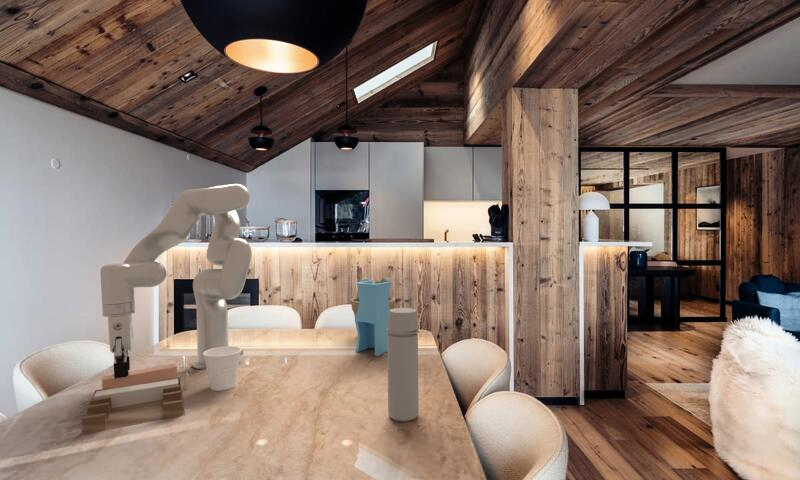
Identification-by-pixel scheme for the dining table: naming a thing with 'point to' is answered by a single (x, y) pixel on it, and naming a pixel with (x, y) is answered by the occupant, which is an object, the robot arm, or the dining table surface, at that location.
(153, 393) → the grey strip
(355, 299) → the potted plant
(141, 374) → the terracotta strip
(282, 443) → the dining table surface
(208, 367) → the cup
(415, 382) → the water bottle
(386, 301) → the blue arched stand
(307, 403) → the dining table surface
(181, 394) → the rack
